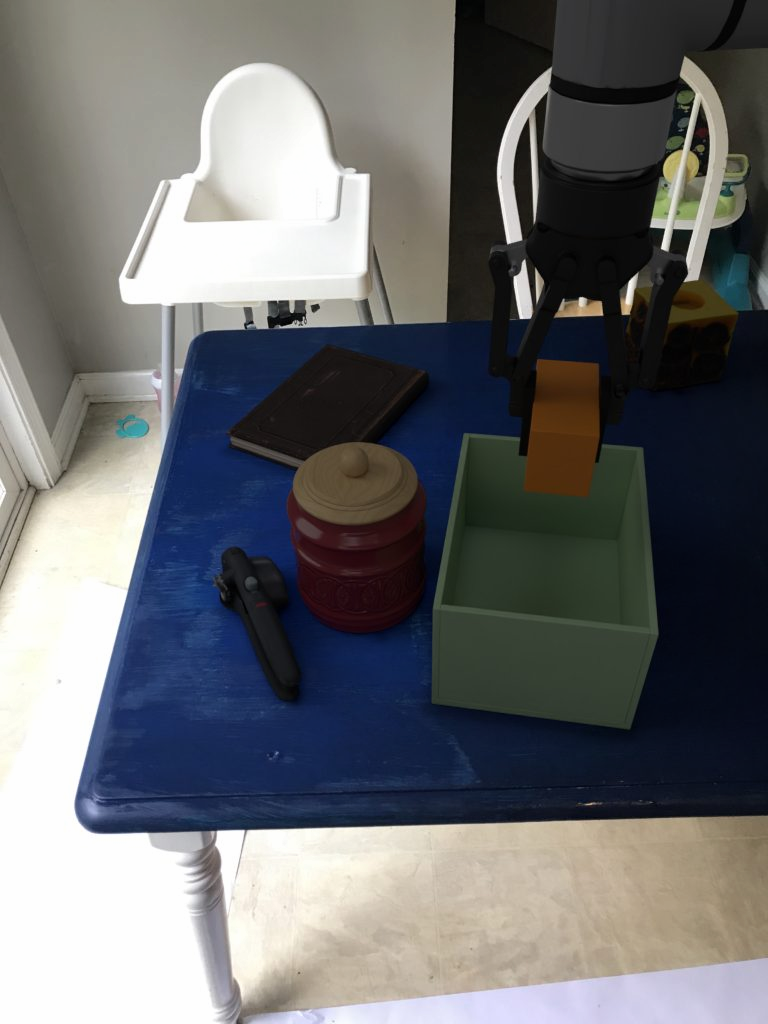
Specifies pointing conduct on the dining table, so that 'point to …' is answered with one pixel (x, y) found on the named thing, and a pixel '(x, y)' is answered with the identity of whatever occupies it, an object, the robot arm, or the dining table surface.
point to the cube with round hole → (686, 335)
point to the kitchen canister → (358, 536)
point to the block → (563, 428)
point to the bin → (545, 590)
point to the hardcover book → (327, 406)
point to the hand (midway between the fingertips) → (558, 448)
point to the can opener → (261, 615)
